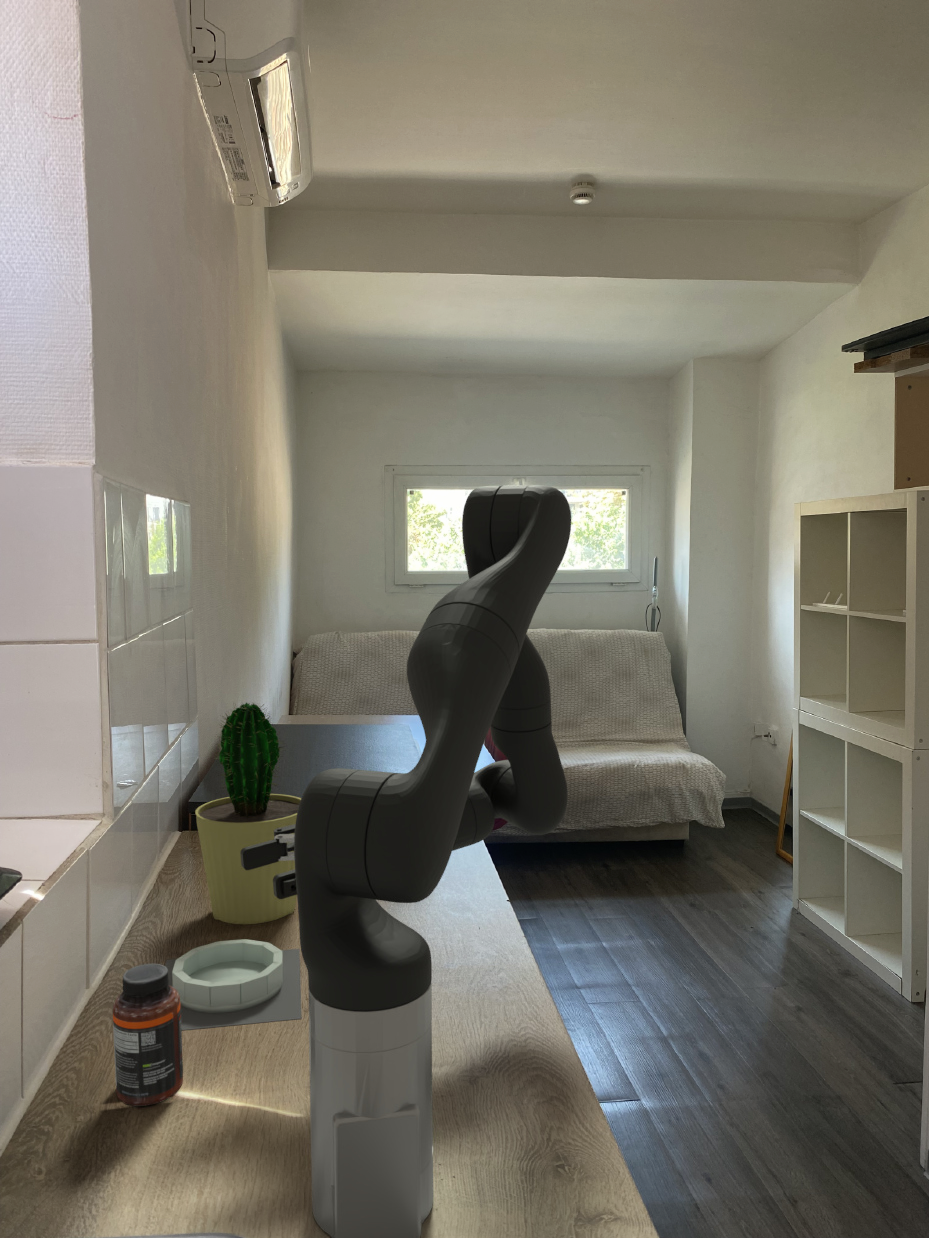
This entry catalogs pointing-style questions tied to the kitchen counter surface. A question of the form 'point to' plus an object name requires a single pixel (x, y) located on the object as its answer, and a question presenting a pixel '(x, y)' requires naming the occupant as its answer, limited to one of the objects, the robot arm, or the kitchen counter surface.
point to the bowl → (228, 975)
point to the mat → (272, 1010)
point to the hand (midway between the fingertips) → (257, 873)
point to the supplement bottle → (147, 1037)
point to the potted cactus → (245, 822)
